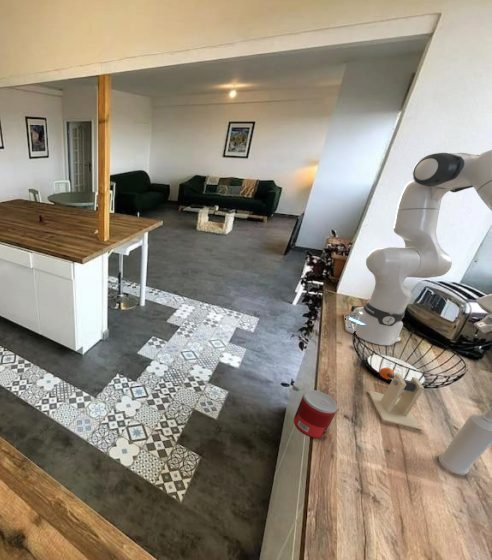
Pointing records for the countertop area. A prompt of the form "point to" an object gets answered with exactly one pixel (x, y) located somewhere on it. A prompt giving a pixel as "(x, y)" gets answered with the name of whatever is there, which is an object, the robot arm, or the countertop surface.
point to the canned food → (315, 413)
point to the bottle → (468, 443)
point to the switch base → (398, 402)
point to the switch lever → (389, 374)
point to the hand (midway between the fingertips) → (478, 328)
